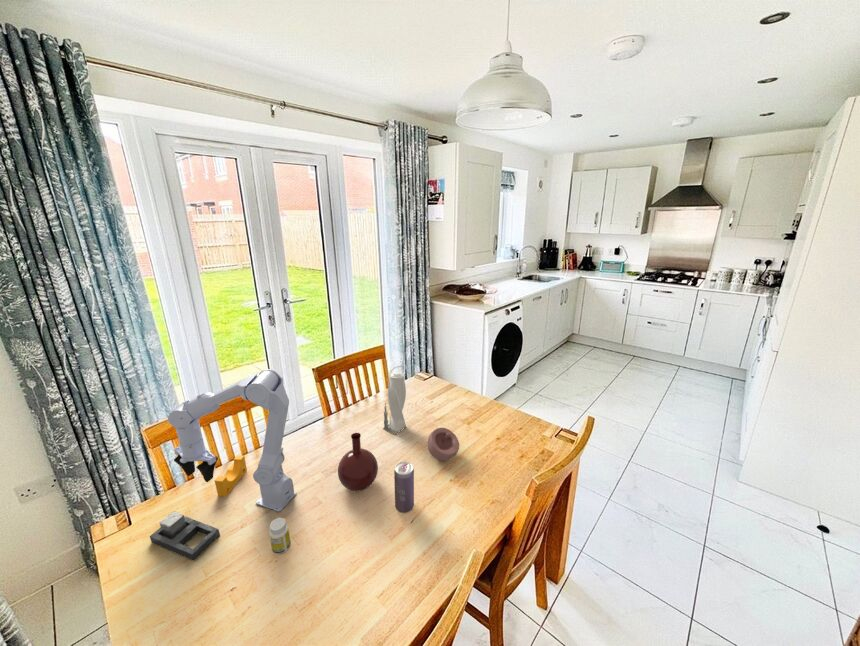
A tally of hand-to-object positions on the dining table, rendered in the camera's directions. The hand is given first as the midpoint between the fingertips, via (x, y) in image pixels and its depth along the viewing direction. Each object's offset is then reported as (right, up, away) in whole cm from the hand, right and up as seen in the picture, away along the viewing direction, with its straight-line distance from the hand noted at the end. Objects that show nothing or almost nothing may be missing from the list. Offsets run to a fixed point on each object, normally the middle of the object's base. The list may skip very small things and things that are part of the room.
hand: (200, 476), depth 107 cm
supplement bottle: (+31, -14, -12) cm, 36 cm away
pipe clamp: (+4, -7, +10) cm, 13 cm away
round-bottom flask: (+48, -7, +10) cm, 49 cm away
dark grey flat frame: (+3, -13, -10) cm, 17 cm away
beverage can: (+64, -10, +2) cm, 65 cm away
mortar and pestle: (+77, -3, +24) cm, 80 cm away
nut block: (-1, -13, -9) cm, 16 cm away
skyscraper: (+58, +3, +41) cm, 71 cm away
